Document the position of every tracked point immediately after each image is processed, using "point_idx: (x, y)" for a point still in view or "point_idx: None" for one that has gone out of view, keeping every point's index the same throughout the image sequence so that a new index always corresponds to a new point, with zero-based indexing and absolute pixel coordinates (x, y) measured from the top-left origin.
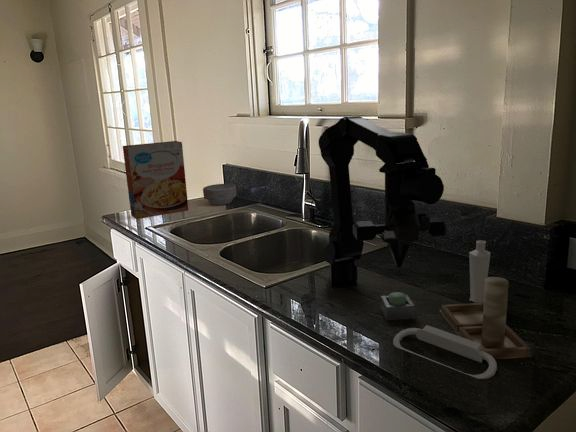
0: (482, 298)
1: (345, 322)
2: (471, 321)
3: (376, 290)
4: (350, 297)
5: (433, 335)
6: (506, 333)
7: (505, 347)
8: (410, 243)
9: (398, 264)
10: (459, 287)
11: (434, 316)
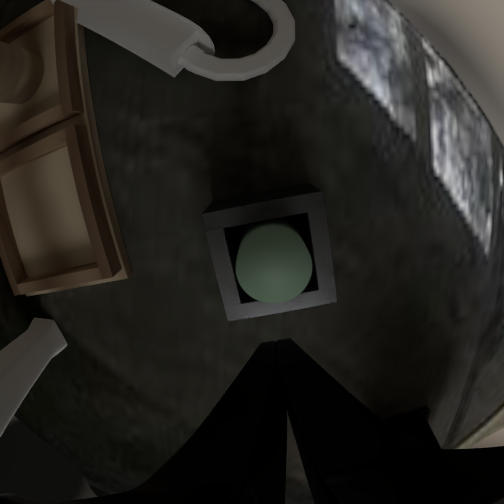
0: (27, 331)
1: (434, 196)
2: (46, 204)
3: None
4: (397, 364)
5: (158, 7)
6: None
7: None
8: (125, 497)
9: (282, 348)
10: (99, 418)
11: (146, 256)
